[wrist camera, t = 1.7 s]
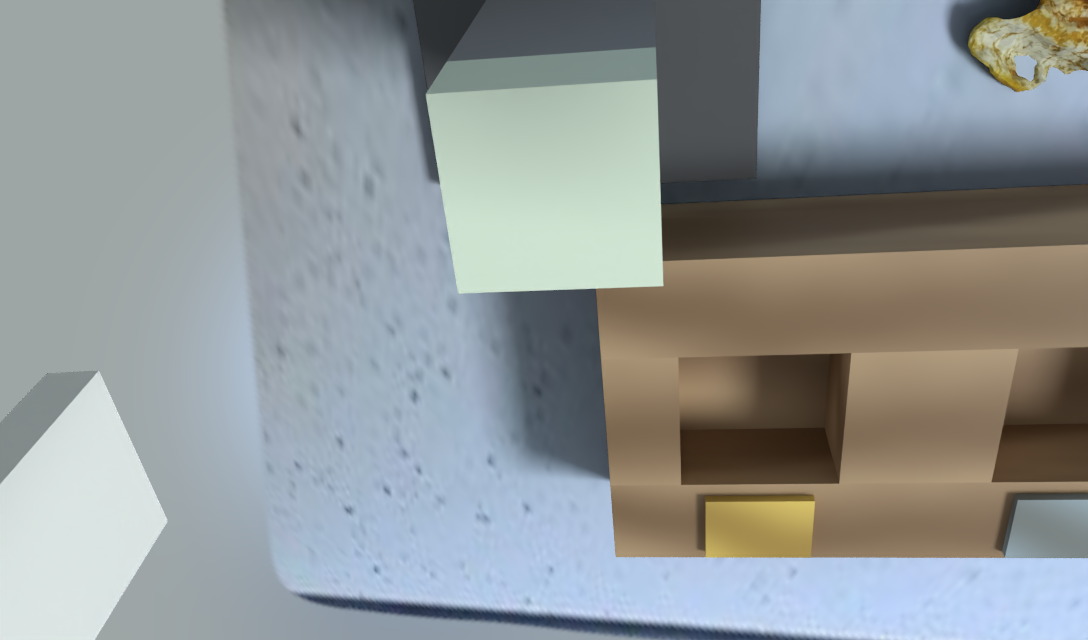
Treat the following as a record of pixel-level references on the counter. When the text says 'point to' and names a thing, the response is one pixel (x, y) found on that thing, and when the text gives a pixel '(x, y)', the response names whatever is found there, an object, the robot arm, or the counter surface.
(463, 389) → the counter surface
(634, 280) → the plug
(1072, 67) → the fruit
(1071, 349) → the socket block
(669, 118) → the mat
